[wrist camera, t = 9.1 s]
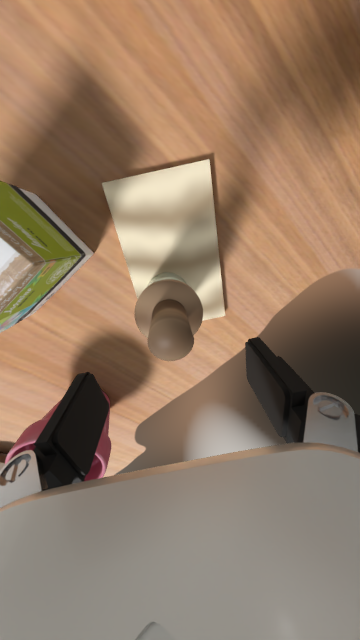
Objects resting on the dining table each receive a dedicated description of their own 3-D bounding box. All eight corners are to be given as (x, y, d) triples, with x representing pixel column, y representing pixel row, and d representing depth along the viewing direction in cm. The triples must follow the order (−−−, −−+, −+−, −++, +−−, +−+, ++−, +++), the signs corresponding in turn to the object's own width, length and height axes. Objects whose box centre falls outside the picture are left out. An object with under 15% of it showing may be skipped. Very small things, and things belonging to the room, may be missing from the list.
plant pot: (129, 383, 38) (113, 447, 26) (116, 427, 43) (97, 497, 31) (55, 369, 35) (1, 433, 23) (51, 418, 40) (4, 491, 28)
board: (104, 185, 24) (101, 183, 23) (207, 162, 24) (209, 159, 23) (148, 329, 33) (147, 332, 32) (223, 313, 33) (225, 315, 32)
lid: (127, 287, 21) (109, 309, 14) (195, 272, 20) (210, 287, 14) (146, 345, 24) (139, 385, 17) (205, 333, 24) (220, 368, 17)
